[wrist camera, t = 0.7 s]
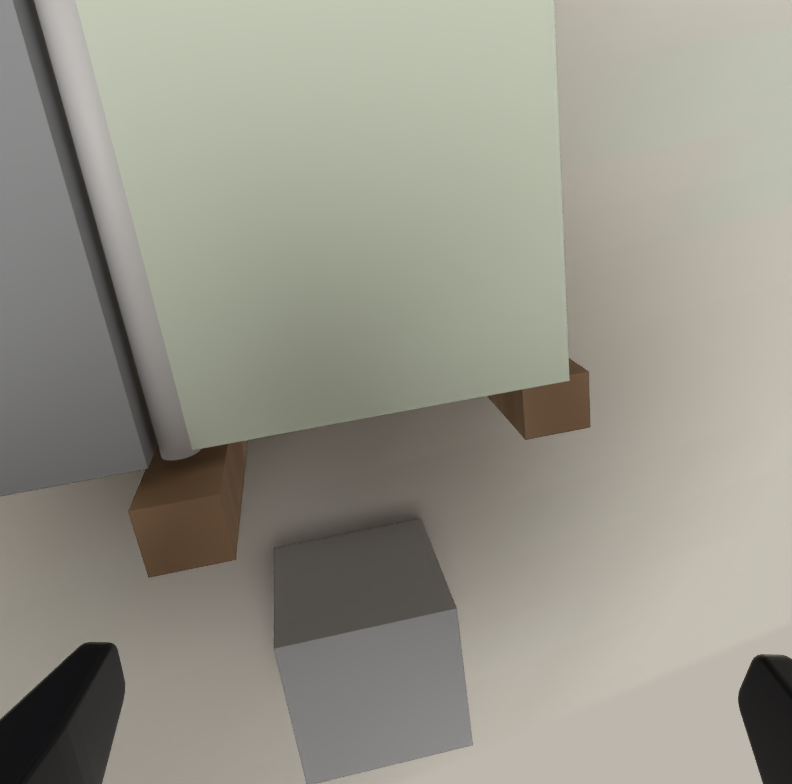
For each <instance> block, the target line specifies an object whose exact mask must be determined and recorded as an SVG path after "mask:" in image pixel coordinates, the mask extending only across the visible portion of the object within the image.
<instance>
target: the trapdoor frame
mask: <svg viewBox="0 0 792 784" xmlns="http://www.w3.org/2000/svg"><path fill="white" fill-rule="evenodd" d="M569 379H570V381H565V382H560V383H554V384H549V385H543V386H538V387H532V388H527V389H522V390H516V391H511V392H505V393H500V394H495V395H489V396H488V398H489V399H490V400H491V401H492V402H493V403H494V404H495V406H496V407H497V408H498V409H499V410H500V411H501V412H502V413H503V415H504V416H505V417H506V418H507V419H508V420H509V421H510V423H511V424H512V425H513V426H514V427H515V428H516V429H517V431H518V432H519V433H520V434H521V435H522V436H523V437H524V439H525V440H527V439H533V438H538V437H543V436H548V435H553V434H558V433H564V432H569V431H574V430H579V429H584V428H589V427H590V399H589V372H588V371H587V370H586V369H584V368H583V367H581V366H580V365H578V364H577V363H575V362H574V361H572V360H571V359H570V358H569ZM247 443H248V440H246V441H240V442H235V443H229V444H224V445H218V446H213V447H208V448H202V449H201V450H200V451H199V452H198V453H196V454H194V455H192V456H190V457H187V458H184V459H180V460H164V459H162V457H161V454H160V451H159V447H158V445H157V448H156V450H155V453H154V455H153V457H152V460H151V462H150V465H149V467H148V469H146V470H145V473H144V475H143V478H142V480H141V482H140V485H139V487H138V490H137V492H136V495H135V497H134V499H133V502H132V504H131V507H130V509H129V511H128V512H129V515H130V519H131V522H132V525H133V528H134V532H135V535H136V538H137V541H138V545H139V548H140V551H141V554H142V558H143V561H144V564H145V567H146V571H147V574H148V577H154V576H159V575H164V574H169V573H174V572H178V571H183V570H188V569H193V568H198V567H203V566H208V565H213V564H218V563H223V562H227V561H232V560H236V553H237V543H238V533H239V523H240V513H241V503H242V493H243V483H244V473H245V463H246V453H247Z"/></svg>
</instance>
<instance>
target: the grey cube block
mask: <svg viewBox="0 0 792 784" xmlns="http://www.w3.org/2000/svg"><path fill="white" fill-rule="evenodd" d="M274 651H275V655H276V660H277V664H278V668H279V672H280V676H281V680H282V685H283V689H284V693H285V697H286V701H287V705H288V709H289V714H290V718H291V722H292V726H293V730H294V734H295V738H296V743H297V747H298V751H299V755H300V759H301V763H302V768H303V772H304V776H305V780H306V784H316V783H321V782H325V781H329V780H333V779H337V778H341V777H345V776H349V775H353V774H357V773H361V772H365V771H369V770H374V769H378V768H382V767H386V766H390V765H394V764H398V763H402V762H406V761H410V760H414V759H418V758H422V757H427V756H431V755H435V754H439V753H443V752H447V751H451V750H455V749H459V748H463V747H467V746H471V745H473V741H472V733H471V725H470V716H469V708H468V699H467V691H466V683H465V674H464V666H463V658H462V649H461V641H460V632H459V624H458V616H457V608H456V606H455V603H454V601H453V598H452V596H451V593H450V591H449V588H448V586H447V583H446V581H445V578H444V576H443V573H442V571H441V568H440V566H439V563H438V561H437V558H436V556H435V553H434V551H433V548H432V546H431V543H430V541H429V538H428V536H427V533H426V531H425V528H424V526H423V523H422V521H421V518H420V519H415V520H410V521H405V522H400V523H396V524H391V525H386V526H381V527H376V528H371V529H366V530H361V531H356V532H351V533H346V534H342V535H337V536H332V537H327V538H322V539H317V540H312V541H307V542H302V543H297V544H292V545H288V546H283V547H278V548H274Z"/></svg>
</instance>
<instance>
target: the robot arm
mask: <svg viewBox="0 0 792 784" xmlns="http://www.w3.org/2000/svg"><path fill="white" fill-rule="evenodd" d="M124 694H125V680H124V676H123V671H122V667H121V662H120V658H119V654H118V650H117V647H116V646H115V645H114V644H113V643H108V642H88V643H84V644H83V645H81V646H79V647H78V648H77V649H76V650H75V651H74V652H73V653H72V654H71V655H70V656H68V657H67V658H66V659H65V660H64V661H63V662H62V663H61V664H60V665H59V666H58V667H57V668H55V669H54V670H53V671H52V672H51V673H50V674H49V675H48V676H47V677H46V678H45V679H43V680H42V681H41V682H40V683H39V684H38V685H37V686H36V687H35V688H34V689H33V690H32V691H30V692H29V693H28V694H27V695H26V696H25V697H24V698H23V699H22V700H21V701H20V702H19V703H17V704H16V705H15V706H14V707H13V708H12V709H11V710H10V711H9V712H8V713H7V714H6V715H4V716H3V717H2V718H1V719H0V784H102V781H103V778H104V774H105V770H106V766H107V762H108V758H109V754H110V750H111V746H112V743H113V739H114V735H115V731H116V727H117V723H118V719H119V715H120V712H121V708H122V704H123V700H124ZM738 703H739V708H740V712H741V715H742V718H743V722H744V725H745V728H746V731H747V734H748V737H749V741H750V744H751V747H752V750H753V753H754V756H755V760H756V763H757V766H758V769H759V772H760V775H761V779H762V782H763V784H792V659H791V658H789V657H787V656H784V655H765V654H761V655H757V656H756V657H755V658H753V660H752V662H751V664H750V667H749V669H748V671H747V674H746V676H745V678H744V681H743V683H742V685H741V688H740V690H739V696H738Z"/></svg>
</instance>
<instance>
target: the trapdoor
mask: <svg viewBox="0 0 792 784" xmlns="http://www.w3.org/2000/svg"><path fill="white" fill-rule="evenodd" d="M565 381H570V379H569V355H568V331H567V306H566V282H565V258H564V234H563V210H562V186H561V162H560V138H559V113H558V89H557V65H556V41H555V17H554V0H0V496H5V495H10V494H16V493H21V492H26V491H32V490H37V489H43V488H48V487H53V486H59V485H64V484H69V483H75V482H80V481H85V480H91V479H96V478H102V477H107V476H112V475H118V474H123V473H128V472H134V471H139V470H144V469H148V467H149V465H150V462H151V460H152V457H153V455H154V453H155V450H156V448H157V445H158V447H159V451H160V454H161V457H162V459H164V460H180V459H184V458H187V457H190V456H192V455H194V454H196V453H198V452H199V451H200V450H201V449H202V448H208V447H213V446H218V445H224V444H229V443H235V442H240V441H246V440H251V439H256V438H262V437H267V436H273V435H278V434H283V433H289V432H294V431H300V430H305V429H310V428H316V427H321V426H327V425H332V424H338V423H343V422H348V421H354V420H359V419H365V418H370V417H375V416H381V415H386V414H392V413H397V412H403V411H408V410H413V409H419V408H424V407H430V406H435V405H440V404H446V403H451V402H457V401H462V400H467V399H473V398H478V397H484V396H489V395H495V394H500V393H505V392H511V391H516V390H522V389H527V388H532V387H538V386H543V385H549V384H554V383H560V382H565Z"/></svg>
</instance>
